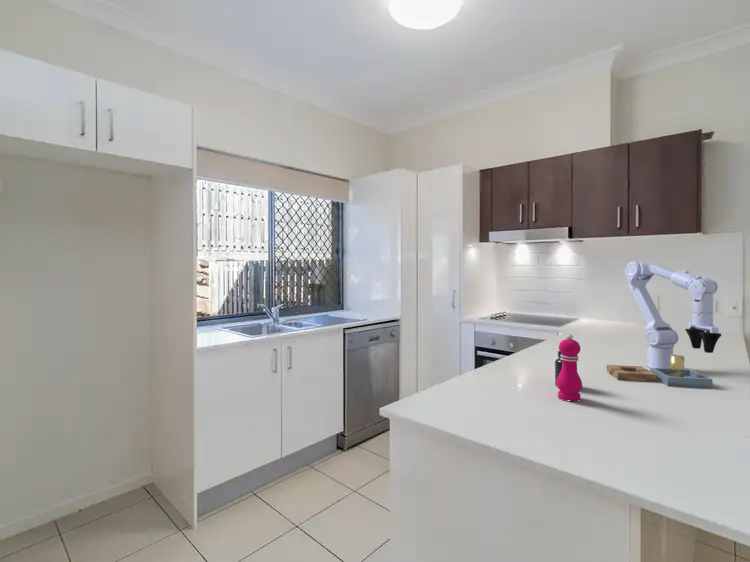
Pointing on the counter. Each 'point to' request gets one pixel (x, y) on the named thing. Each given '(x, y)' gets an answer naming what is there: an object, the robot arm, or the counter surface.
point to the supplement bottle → (558, 366)
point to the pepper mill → (569, 370)
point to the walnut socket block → (631, 373)
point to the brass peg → (676, 366)
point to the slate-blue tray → (682, 378)
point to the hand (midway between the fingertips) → (702, 350)
